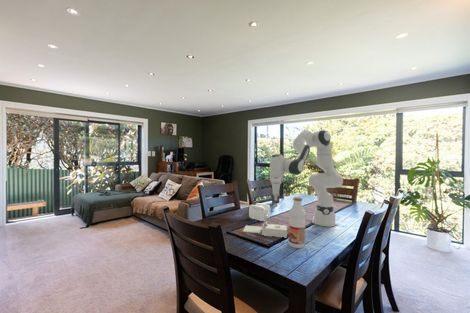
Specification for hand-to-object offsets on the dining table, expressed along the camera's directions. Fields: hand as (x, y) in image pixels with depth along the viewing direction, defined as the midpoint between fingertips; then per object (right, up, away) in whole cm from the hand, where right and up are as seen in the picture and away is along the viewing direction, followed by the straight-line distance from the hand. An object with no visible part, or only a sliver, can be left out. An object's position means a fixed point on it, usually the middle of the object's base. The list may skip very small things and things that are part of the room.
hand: (275, 199), depth 148 cm
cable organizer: (-7, -23, +33) cm, 41 cm away
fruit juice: (+9, -24, -17) cm, 31 cm away
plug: (+1, -5, 0) cm, 5 cm away
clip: (-6, -18, +6) cm, 20 cm away
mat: (-15, -23, +7) cm, 28 cm away
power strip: (-1, -23, 0) cm, 23 cm away
